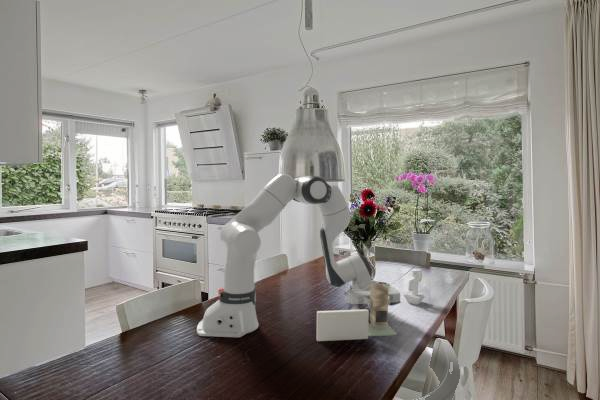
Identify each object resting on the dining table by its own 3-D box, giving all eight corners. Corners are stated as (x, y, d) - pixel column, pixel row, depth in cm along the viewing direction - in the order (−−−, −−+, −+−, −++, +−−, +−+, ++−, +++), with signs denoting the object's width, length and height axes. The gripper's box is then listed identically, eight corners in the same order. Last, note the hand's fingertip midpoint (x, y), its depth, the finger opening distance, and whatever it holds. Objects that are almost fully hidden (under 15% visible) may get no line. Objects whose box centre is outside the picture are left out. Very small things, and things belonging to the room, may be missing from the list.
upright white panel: (317, 341, 123) (317, 312, 122) (316, 339, 125) (316, 311, 124) (368, 338, 125) (368, 310, 125) (366, 336, 127) (367, 309, 126)
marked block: (374, 326, 130) (375, 288, 129) (369, 320, 135) (370, 284, 134) (387, 325, 130) (388, 288, 129) (382, 319, 135) (383, 283, 134)
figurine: (402, 303, 161) (402, 270, 160) (411, 298, 168) (412, 266, 166) (417, 307, 156) (418, 273, 155) (426, 301, 162) (427, 269, 161)
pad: (369, 336, 127) (369, 335, 127) (361, 324, 137) (361, 323, 137) (396, 335, 128) (396, 333, 128) (386, 323, 138) (386, 322, 138)
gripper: (343, 284, 143) (352, 295, 130) (392, 282, 146) (406, 294, 132) (342, 299, 144) (351, 313, 130) (391, 297, 146) (405, 310, 133)
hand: (379, 303), depth 131 cm, fingers closed on marked block, 5 cm apart
